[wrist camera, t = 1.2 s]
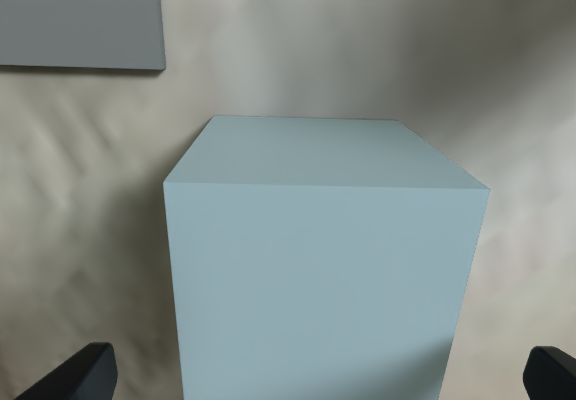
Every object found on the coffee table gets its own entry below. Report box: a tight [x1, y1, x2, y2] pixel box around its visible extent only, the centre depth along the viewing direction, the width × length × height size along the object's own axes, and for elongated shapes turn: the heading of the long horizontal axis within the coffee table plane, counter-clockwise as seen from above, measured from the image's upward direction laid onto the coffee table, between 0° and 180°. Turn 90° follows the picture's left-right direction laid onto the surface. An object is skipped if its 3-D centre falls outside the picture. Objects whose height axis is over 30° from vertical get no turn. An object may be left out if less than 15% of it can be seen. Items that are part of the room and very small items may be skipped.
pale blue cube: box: [163, 116, 490, 400], centre depth 13 cm, size 7×7×7 cm
